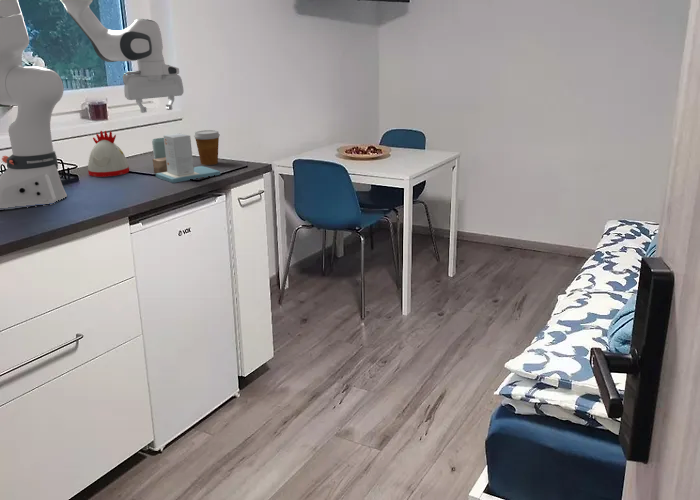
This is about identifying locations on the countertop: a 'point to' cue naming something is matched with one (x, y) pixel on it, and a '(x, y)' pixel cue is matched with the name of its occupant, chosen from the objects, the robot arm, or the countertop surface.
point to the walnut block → (160, 165)
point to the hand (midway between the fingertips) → (156, 111)
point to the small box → (178, 154)
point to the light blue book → (198, 173)
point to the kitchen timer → (107, 157)
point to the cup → (158, 148)
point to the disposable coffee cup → (207, 146)
